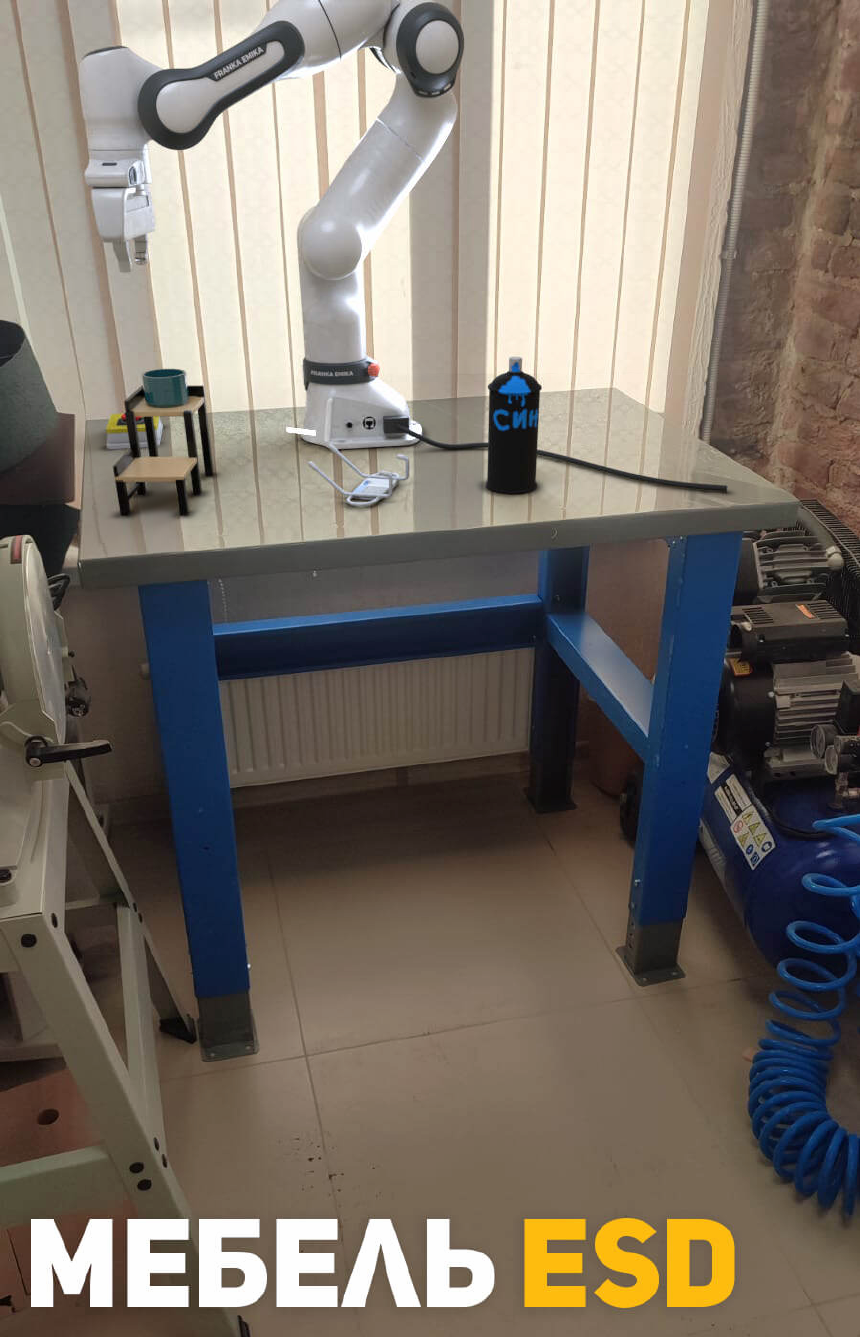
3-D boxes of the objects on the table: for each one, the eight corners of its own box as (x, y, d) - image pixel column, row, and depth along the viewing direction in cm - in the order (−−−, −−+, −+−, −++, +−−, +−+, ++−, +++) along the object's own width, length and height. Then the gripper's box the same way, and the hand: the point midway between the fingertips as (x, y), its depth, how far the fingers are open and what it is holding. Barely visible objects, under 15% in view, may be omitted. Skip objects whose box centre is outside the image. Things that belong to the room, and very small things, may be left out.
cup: (193, 398, 159) (189, 368, 156) (184, 408, 153) (180, 378, 151) (151, 398, 159) (147, 368, 156) (141, 408, 153) (136, 378, 151)
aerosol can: (482, 479, 163) (484, 353, 153) (532, 477, 164) (537, 352, 154) (489, 495, 156) (492, 364, 146) (541, 493, 156) (547, 363, 147)
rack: (213, 474, 166) (203, 385, 159) (187, 515, 149) (175, 417, 142) (154, 474, 166) (141, 385, 159) (120, 516, 149) (104, 418, 142)
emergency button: (102, 425, 177) (109, 404, 190) (106, 449, 179) (113, 427, 192) (156, 422, 179) (160, 402, 192) (159, 446, 181) (163, 425, 194)
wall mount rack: (386, 511, 150) (385, 473, 147) (302, 503, 153) (299, 466, 150) (415, 479, 163) (415, 444, 160) (337, 473, 166) (335, 438, 164)
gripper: (119, 169, 162) (132, 260, 168) (80, 174, 144) (96, 276, 150) (158, 168, 162) (169, 260, 168) (124, 174, 144) (138, 276, 150)
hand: (134, 268), depth 159 cm, fingers open, 8 cm apart
